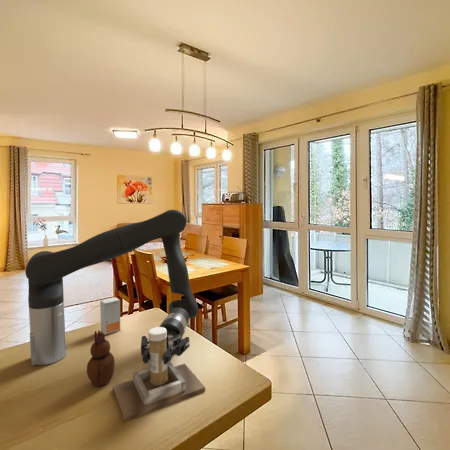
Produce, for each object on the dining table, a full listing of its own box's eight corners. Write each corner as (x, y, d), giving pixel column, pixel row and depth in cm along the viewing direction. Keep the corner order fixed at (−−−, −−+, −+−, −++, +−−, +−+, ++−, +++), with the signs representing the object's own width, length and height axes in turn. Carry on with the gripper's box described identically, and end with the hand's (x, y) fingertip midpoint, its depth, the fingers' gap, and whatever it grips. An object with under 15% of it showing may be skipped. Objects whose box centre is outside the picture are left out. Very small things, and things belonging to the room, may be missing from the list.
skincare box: (104, 335, 107) (103, 303, 106) (100, 331, 110) (99, 300, 109) (121, 330, 111) (120, 299, 110) (116, 326, 114) (115, 296, 113)
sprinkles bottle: (170, 381, 75) (169, 331, 73) (153, 388, 72) (151, 335, 71) (164, 373, 78) (162, 324, 77) (147, 379, 76) (145, 329, 75)
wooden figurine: (97, 392, 74) (94, 335, 73) (83, 385, 78) (81, 330, 76) (119, 379, 80) (117, 325, 79) (106, 372, 83) (104, 321, 82)
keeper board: (124, 421, 65) (124, 406, 64) (113, 389, 76) (112, 376, 75) (205, 391, 75) (204, 377, 75) (184, 366, 86) (184, 355, 86)
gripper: (148, 317, 89) (126, 345, 72) (195, 318, 88) (183, 346, 71) (149, 340, 90) (127, 374, 73) (195, 341, 89) (184, 375, 72)
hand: (155, 360), depth 72 cm, fingers closed on sprinkles bottle, 4 cm apart
